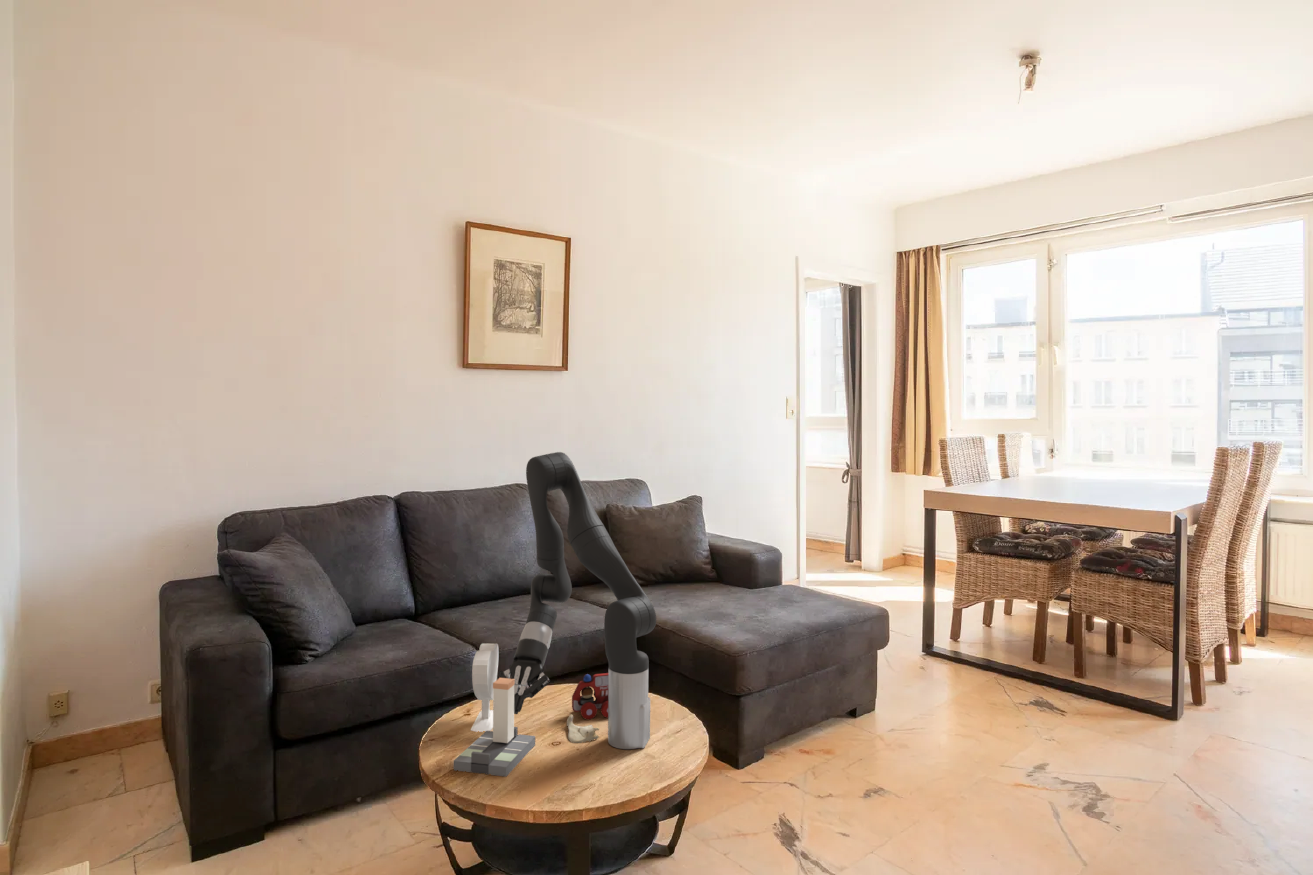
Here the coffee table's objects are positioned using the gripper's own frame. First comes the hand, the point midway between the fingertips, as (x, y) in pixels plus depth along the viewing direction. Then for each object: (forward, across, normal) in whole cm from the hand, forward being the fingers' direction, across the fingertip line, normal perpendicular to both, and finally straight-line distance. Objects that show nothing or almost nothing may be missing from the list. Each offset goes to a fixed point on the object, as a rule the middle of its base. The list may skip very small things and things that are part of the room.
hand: (513, 712), depth 179 cm
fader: (+7, 0, -1) cm, 7 cm away
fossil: (0, +14, +10) cm, 17 cm away
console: (+11, 0, -2) cm, 11 cm away
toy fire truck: (-9, +14, +18) cm, 25 cm away
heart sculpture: (-1, -11, +11) cm, 15 cm away
